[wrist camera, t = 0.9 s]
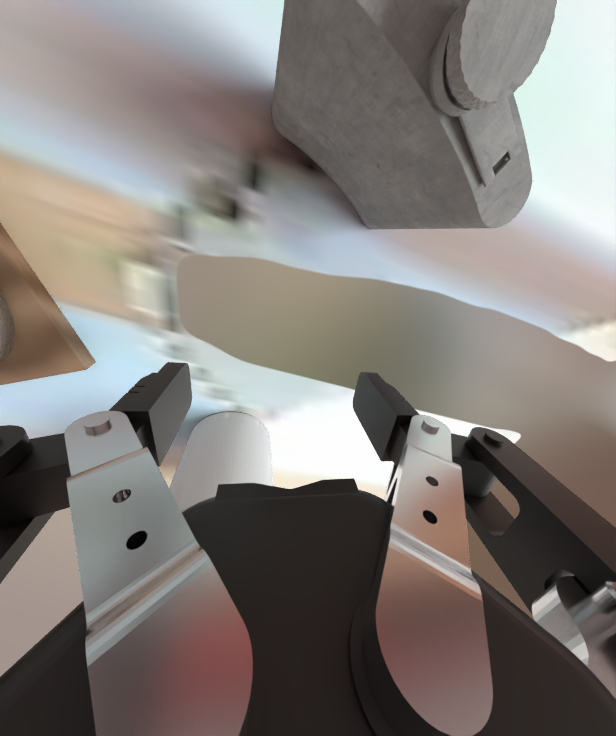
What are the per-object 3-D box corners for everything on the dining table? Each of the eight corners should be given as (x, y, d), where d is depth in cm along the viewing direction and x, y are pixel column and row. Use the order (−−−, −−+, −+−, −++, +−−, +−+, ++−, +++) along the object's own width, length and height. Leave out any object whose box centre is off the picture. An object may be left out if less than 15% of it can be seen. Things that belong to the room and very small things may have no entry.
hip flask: (265, 118, 22) (288, -238, 5) (289, 70, 21) (421, -588, 4) (374, 235, 29) (534, 242, 12) (397, 204, 28) (611, 164, 11)
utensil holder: (172, 457, 41) (124, 583, 27) (204, 395, 36) (167, 509, 21) (249, 474, 47) (245, 585, 33) (286, 423, 42) (301, 527, 27)
